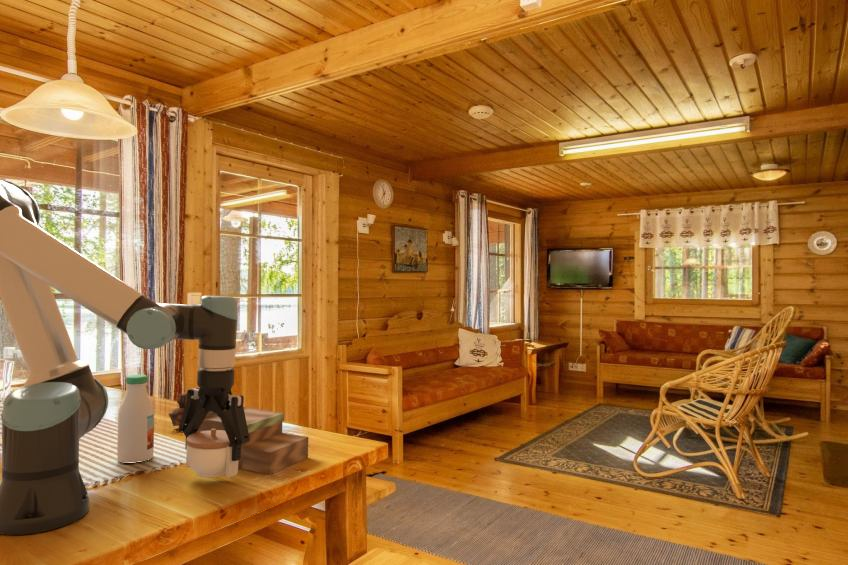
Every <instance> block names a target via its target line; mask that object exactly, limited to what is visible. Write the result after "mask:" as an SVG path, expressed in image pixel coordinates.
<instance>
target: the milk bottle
mask: <svg viewBox="0 0 848 565" xmlns="http://www.w3.org/2000/svg"><path fill="white" fill-rule="evenodd" d="M148 378H149V377H148V376H147V375H146V374H130V375H127V376H126V377H125V387H126V392H125V394H124V397H123V399H122V401H121V403H120V405H119V408H118V414H117V415H118V416H117V446H116V448H117V449H116V450H117V454H116V456H117V459H118V460H117V461H118V462H119V461H121V462H137V461H144V460H148V459H150V458H152V459H153V457H154V450H155V449H154V445H155V443H154V442H155V411H154V410H155V409H154V404H153V402H152V399H151V398H150V395H149V393H148V389H147V385H148ZM150 460H151V459H150ZM148 461H149V460H148Z"/></svg>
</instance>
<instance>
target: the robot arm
mask: <svg viewBox="0 0 848 565" xmlns="http://www.w3.org/2000/svg"><path fill="white" fill-rule="evenodd" d="M40 210H41V209H40V207H39V205H38V202H37V201H36V199H35V198H34V197H33V195H31V193H30V192H28V191H27V190H26V189H24V188H23V187H21V186H19V185H18V184H16V183H14V182H11V181H8V180H4V179H0V300H1V302H2V305H3V309H4V311H5V313H6V316H7V319H8V321H9V324H10V326H11V329H12V331H13V334H14V337H15V339H16V342H17V345H18V347H19V350H20V353H21V356H22V358H23V361H24V364H25V367H26V368H27V371H28V374H29V375H28V377H27V379H26V381H25V382H24V384H23V386H21V387H19V388H16V389H14V390H13V391H11V392H9V394H7V395H6V397H5V398H4V400H3V403H2V412H1V415H0V419H1V482H0V535H6V536H7V535H8V536H17V535H18V536H20V535H21V536H23V535H30V534H33V535H34V534H37V533H38V534H39V533H44V532H48V531H51V530H56V529H59V528H62V527H65V526H68V525H70V524H73V523H75V522H77V521H78V520H80V519H82V518H83V517H85V516H86V515H87V514H88V512H89V510H90V496H89V494H88V490H87V488H86V485H85V483H84V479H83V477H82V474H81V472H80V469H79V468H80V467H79V466H80V465H79V464H80V461H79V460H80V456H79V455H80V439H81V438H82V437H84V436H85V435H86V434H89V432H91V431H93V430H94V429H95V428H96V427H97V426H98V425H99V424H100V422H102V419H103V418H104V417H105V415H106V413H107V410H108V408H109V396H108V392H107V389H106V388H105V386H104V385H103V384H102V383H101V382H100V381H99V380H98V379H97V378H94V375H93V373H92V370H91V368H90V364H89V363H87V362H85V361H82V360H80V359H79V358H78V357H77V354H76V351H75V349H74V346H73V343H72V341H71V338H70V335H69V332H68V330H67V327H66V325H65V322H64V319H63V316H62V314H61V311H60V308H59V306H58V303H57V301H56V300H57V299H56V297H55V294H54V292H53V289H55V290H56V291H58V292H59V293H61V294H62V295H64V296H66V297H68V298H69V299H71V300H72V301H73V302H76V303H77V304H78V305H80V306H82V307H84V308H85V309H87V310H88V311H90V312H91V313H93V314H94V315H96V316H98V317H99V318H101V319H102V320H104V321H106V322H107V323H109V324H110V325H112V326H113V327H116V328H117V329H118V330H119V331H121V332H123V333H124V334H126V335H127V337H128V339H129V341H130V342H131V343H132V344H133V345H134V346H135V347H137V348H140V349H143V350H153V349H159V348H163V347H164V346H166V345H167V344H169V343H170V342H171V341H173V340H179V341H180V340H181V341H183V340H189V341H195V340H196V341H197V340H198V354H197V366H198V367H199V368H198V369H197V371H196V372H197V376H196V385H197V387H194V388H189V389H187V390H186V391H187V402H186V405H185V408H184V411H183V415H182V418H181V421H180V424H179V426H178V428H177V429H178V432H180V433H183V434H184V436H185V439H186V438H187V437H188V436H189V435H191V434H194V433H197V432H198V429H199V427H200V426H201V424H202V422H203V420H204V419H205V417H206V415H207V413H208V412H209V411H212V412H214V413H217V416H218V417H220V419H221V421H222V424H223V426H224V429H225V431H226V434H227V436H228V439H229V441H230V445H228V446H227V461H226V473H225V477H226V478H231V477H233V476H235V475H236V476H237V475H238V474H239V468H238V460H240V458H241V445H242V444H243V443H246V442H249V441H250V437H249V432H248V427H247V422H246V417H245V412H244V408H243V407H244V400H245V399H244V398H245V397H244V396H243V395H242V394H241V395H234V394H233V392H232V388H233V386H234V384H235V371H236V370H235V369H234V368H233V367H234V366H236V365H235V364H236V344H237V331H238V302H237V299H236V298H235V297H233V296H230V295H229V296H227V295H203V296H201V298H200V302H199V303H197V304H182V303H181V304H180V303H163V302H155V301H153V300H152V299H150V298H149V297H147V296H145V295H144V294H143V293H141V292H139V291H138V290H137V289H134V288H133V287H132V286H130V285H128V284H127V283H126V282H125V281H122V280H121V279H119V278H118V277H116V276H115V275H114V274H112V273H110V272H108V271H107V270H105V269H104V268H103V267H101V266H100V265H98V264H96V263H95V262H94V261H92V260H90V259H89V258H87V257H86V256H84V255H83V254H81V253H79V252H78V251H77V250H75V249H73V248H72V247H70V246H69V245H67V244H65V242H63V241H61V240H60V239H58V238H56V237H55V236H54V235H52V234H50V233H49V232H47V231H46V230H45V229H42V228H41V227H40V226H38V225H39V223H40V219H41V212H40ZM199 399H200V402H199ZM198 403H199V404H198ZM225 409H226V411H224V410H225ZM235 438H236V439H235ZM184 446H185V450H186V447H187V444H186V441H185V445H184ZM185 459H186V460H185V467H186V468H191V467H190V465H189V463H188V459H187V455H186V458H185Z"/></svg>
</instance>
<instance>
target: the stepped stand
mask: <svg viewBox="0 0 848 565" xmlns="http://www.w3.org/2000/svg"><path fill="white" fill-rule="evenodd" d="M243 408H244V412H245V417H246V422H247V427H248V432H249V437H250V441H249V442H246V443H243V444H242V445H241V458H240V460H238V469H241V470H246V471H250V472H255V473H261V474H264V473H266V474H265V475H269V474H271V475H272V473H273V474H275V473H277V472H279V471H281V470H284V469H286V468H288V467H290V466H293V465H294V464H297V463H299V462H301V461H303V460H305V459H308V457H309V436H305V435H298V434H294V433H293V434H292V433H286V432H283V422H284V421H285V412H280V411H272V410H267V409H261V408H253V407H247V406H243ZM224 411H226V409H225V410H224ZM211 429H216V430H224V431H225V429H224V426H223V424H222V421H221V419H220V417H218V416H217V413H214V412H212V411H209V412H208V413H207V415H206V417H205V419H204V420H203V422H202V424H201V426H200V427H199V429H198V432H202V431H210V430H211Z"/></svg>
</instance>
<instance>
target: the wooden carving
mask: <svg viewBox="0 0 848 565" xmlns="http://www.w3.org/2000/svg"><path fill="white" fill-rule="evenodd" d="M187 391H188V390H186V391H185V392H183V393H182V394H178V397H177V399H176V402H177V404H178V407H176V408H173V409H172V410H171V411H170V412H169V413H168V417H169V419H170V420H171V423H172V426H174V427H179V424H180V421H181V418H182V415H183V411H184V408H185V405H186V402H187ZM199 402H200V399H199ZM198 404H199V403H198Z"/></svg>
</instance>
